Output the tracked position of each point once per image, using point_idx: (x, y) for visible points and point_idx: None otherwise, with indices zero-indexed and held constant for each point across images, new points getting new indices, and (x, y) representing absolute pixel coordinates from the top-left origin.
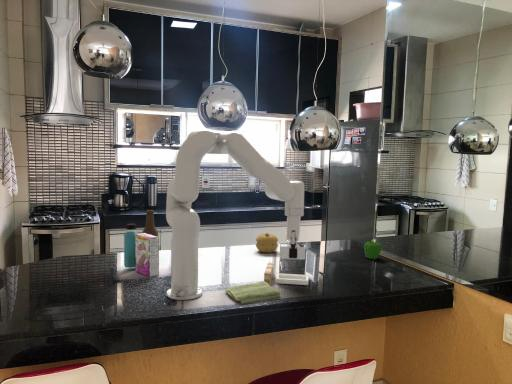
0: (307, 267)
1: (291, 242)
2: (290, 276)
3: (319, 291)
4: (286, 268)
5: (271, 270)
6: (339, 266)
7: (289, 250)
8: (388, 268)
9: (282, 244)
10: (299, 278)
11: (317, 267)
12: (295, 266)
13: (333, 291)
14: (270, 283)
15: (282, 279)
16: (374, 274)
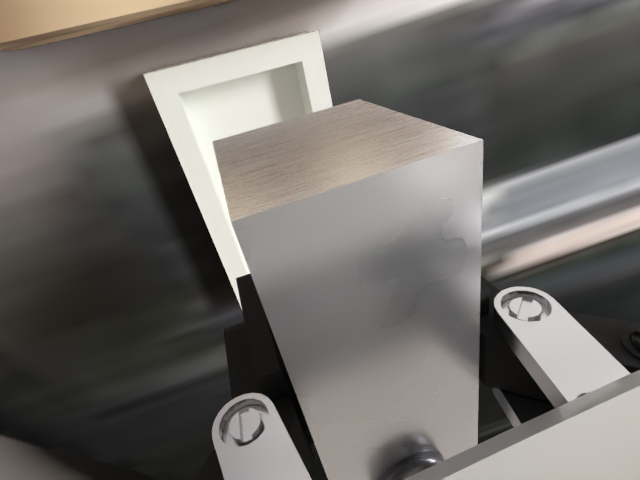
0: (583, 169)
1: (518, 356)
2: None
3: (157, 379)
4: (558, 36)
5: (139, 12)
6: (598, 299)
7: (252, 351)
8: None
9: (445, 194)
10: None
11: (583, 219)
12: (604, 88)
13: (202, 420)
14: (60, 39)
15: (171, 140)
16: (499, 428)
